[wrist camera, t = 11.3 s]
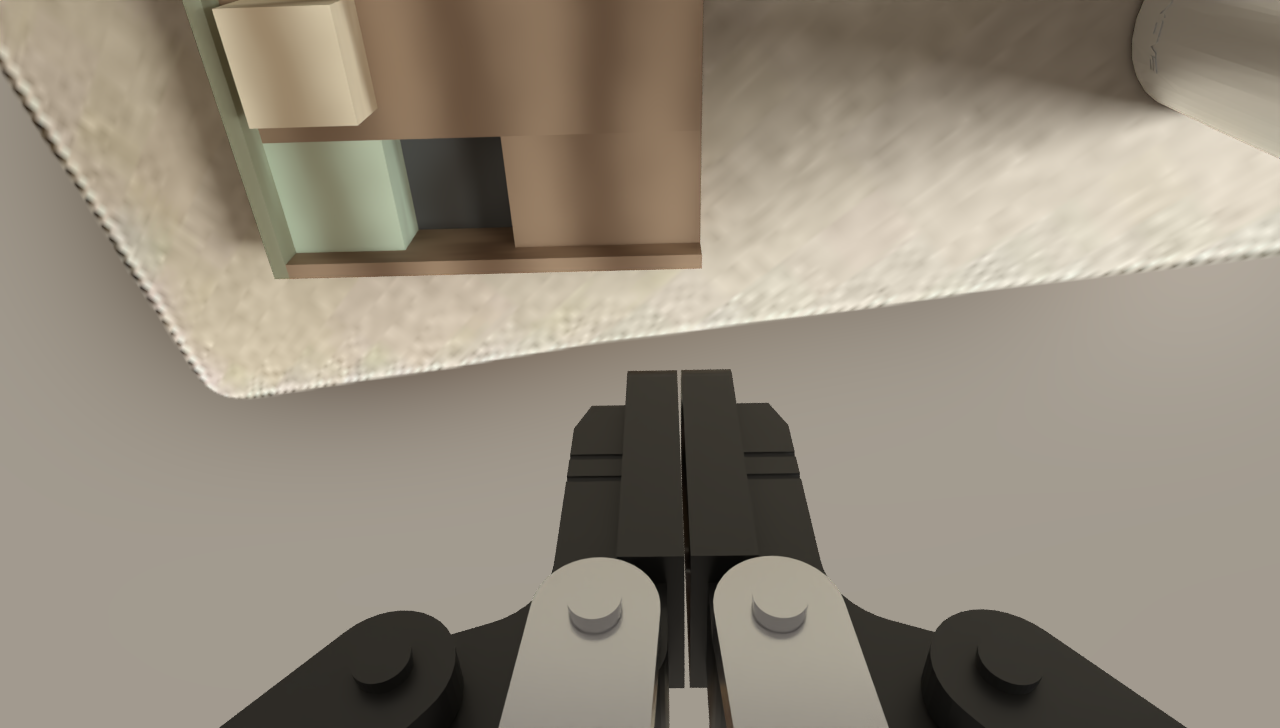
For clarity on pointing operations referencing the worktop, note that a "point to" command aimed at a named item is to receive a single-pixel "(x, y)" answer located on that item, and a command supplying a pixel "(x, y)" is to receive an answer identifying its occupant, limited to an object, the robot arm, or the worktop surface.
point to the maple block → (297, 62)
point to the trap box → (487, 143)
